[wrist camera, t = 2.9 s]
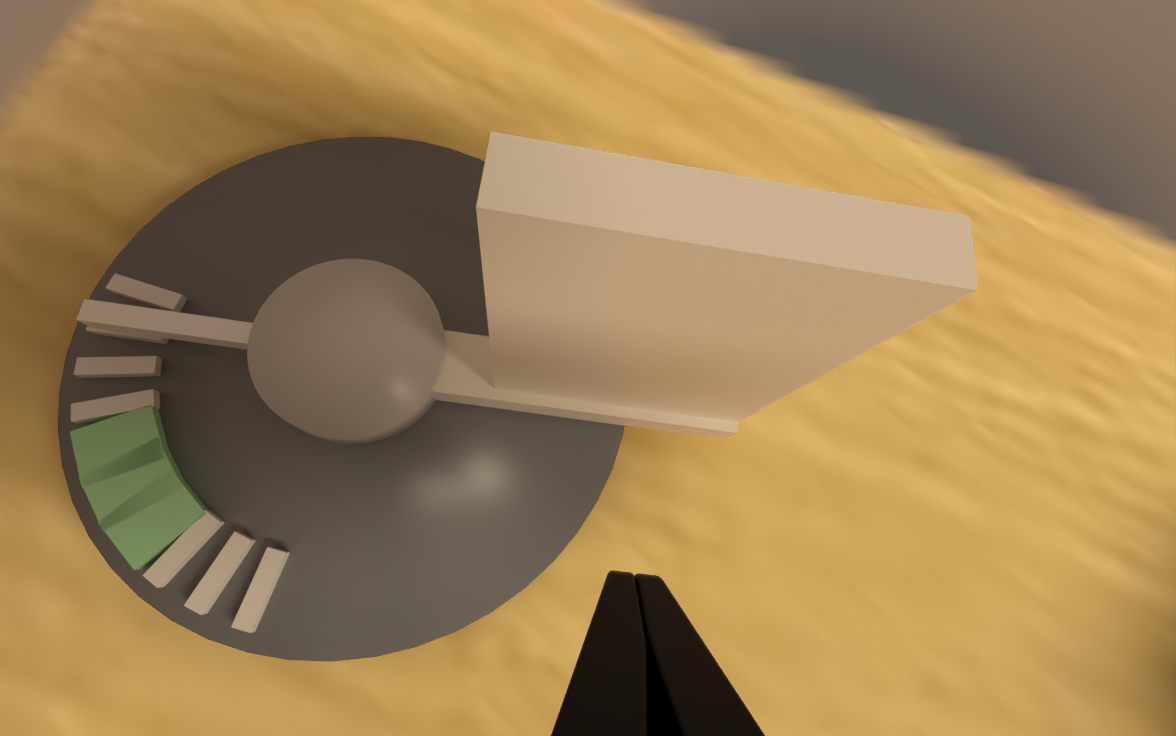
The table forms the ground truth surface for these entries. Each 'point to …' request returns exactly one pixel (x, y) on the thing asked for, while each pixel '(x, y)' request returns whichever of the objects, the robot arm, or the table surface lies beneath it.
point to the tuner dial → (295, 458)
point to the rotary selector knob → (599, 301)
